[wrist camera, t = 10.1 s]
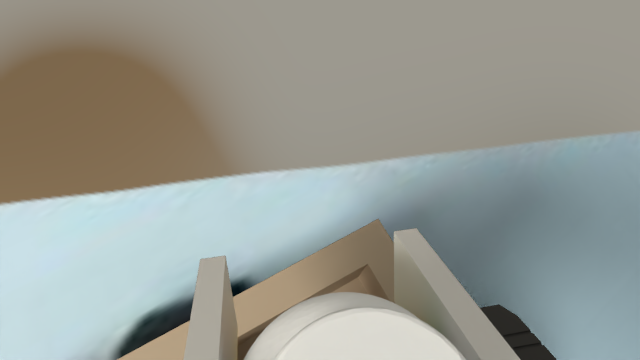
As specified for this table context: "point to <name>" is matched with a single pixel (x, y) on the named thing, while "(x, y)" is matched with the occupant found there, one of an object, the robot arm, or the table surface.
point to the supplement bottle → (350, 332)
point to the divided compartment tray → (298, 289)
